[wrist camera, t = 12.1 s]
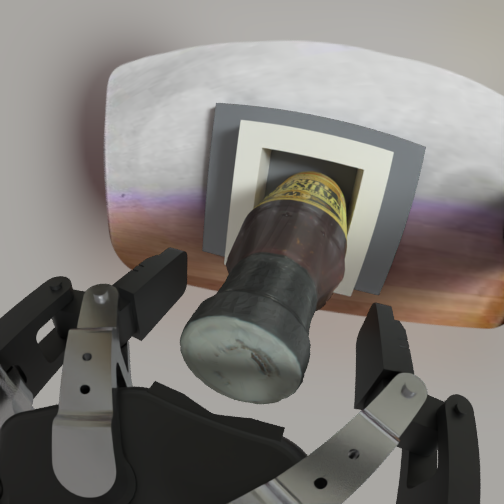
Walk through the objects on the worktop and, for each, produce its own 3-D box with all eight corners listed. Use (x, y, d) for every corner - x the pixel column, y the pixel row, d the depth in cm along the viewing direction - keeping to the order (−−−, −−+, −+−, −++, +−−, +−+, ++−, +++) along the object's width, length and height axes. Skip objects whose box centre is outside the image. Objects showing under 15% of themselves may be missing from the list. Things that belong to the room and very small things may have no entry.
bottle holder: (420, 146, 21) (442, 150, 16) (377, 288, 28) (383, 318, 23) (221, 104, 24) (197, 99, 19) (207, 245, 32) (185, 267, 27)
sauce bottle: (346, 170, 23) (393, 293, 5) (342, 235, 25) (342, 432, 8) (274, 167, 24) (132, 266, 7) (275, 230, 27) (177, 401, 10)
